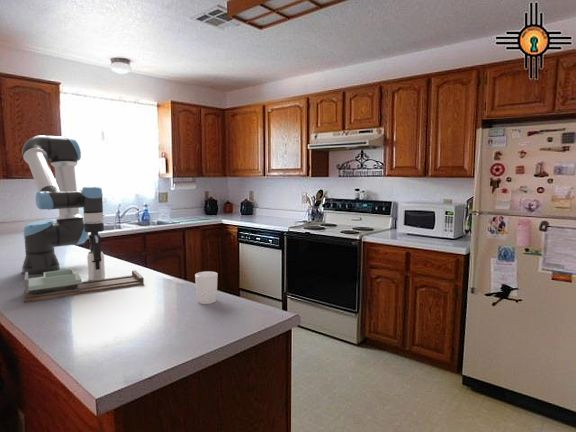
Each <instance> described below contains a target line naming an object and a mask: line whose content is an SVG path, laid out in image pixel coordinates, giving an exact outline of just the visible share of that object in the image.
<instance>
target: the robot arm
mask: <svg viewBox="0 0 576 432" xmlns="http://www.w3.org/2000/svg"><path fill="white" fill-rule="evenodd" d="M21 154H22V159H23V161H25V163H27V164H28V167H29V170H30V172H31V174H32V178H33V180H34V183H35V185H36V188H37V192H36V194H35V203H36V207H37V209H38V210H58V217H57V218H56V221H55V222H53V220H51V219H50V220H48V219H47V220H41V221H40V220H39V221H35V222H31V223H28V224H26V225H24V227H23V236H24V237H23V239H24V249H25V250H24V251H25V257H24V259H23V264H22V267H21V270H22V271H21V272H22V274H25V272H28V275H37V274H43V272H51V271H59V270H61V269H60V268H61V267H60V262H59V260H58V258H57V255H56V254H55V248H58V247H67V246H78V245H82V244H84V243H85V242H87V240H88V238H89V247H90V249H89V250H90V252H92V251H93V255H94V261H92V262H93V263H94V277H100V276H101V251H102V250H101V236H100V235H99V233H100V232H103V231H105V227H104V226H105V224H104V222H103V221H104V217H105V216H106V215H105V213H104V205H103V204H104V202H103V189H102V187H101V186H83V187H82V190H81V189H80V190H78V189H77V179H76V171H75V167H76V166H77V165H78V162H79V161H80V160H81V158H82V150H81V147H80V143H79V141H78V140H77V139H76V138H74V137H72V136H71V137H70V136H67V135H66V136H59V135H58V136H57V135H56V136H55V135H46V134H45V135H44V134H43V135H41V134H38V135H35V136H32V137H31V138H29V139H27V141H26V142H25V143H24V144H23V147H22V149H21ZM48 161H50V165H51V166H52V167H53V168H54V174H55V177H54V174H53V172H52V169H51V167H50V165H49V162H48ZM79 208H80V209H81V208H82V209H83V214H82V215H83V216H82V215H81V214H80V211H79ZM89 233H90V234H89ZM96 258H97V259H96Z"/></svg>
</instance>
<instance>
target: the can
mask: <svg viewBox="0 0 576 432" xmlns="http://www.w3.org/2000/svg"><path fill="white" fill-rule="evenodd" d="M86 259H87V271H88V272H87V274H88V275H87V276H88V281H92V280H100V279H106V272H105V271H106V270H105V269H106V268H105V255H104V252H103V251H102V250H101V276H100V277H94V263H93V262H92V261H94V255H93V251H92V252H91V251H88V254H87V258H86ZM96 259H97V258H96Z"/></svg>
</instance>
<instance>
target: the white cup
mask: <svg viewBox="0 0 576 432" xmlns="http://www.w3.org/2000/svg"><path fill="white" fill-rule="evenodd" d="M194 277H195V278H194V280H195V282H194V283H195V292H196V301H197V303H198V304H199V305H200V304H201V305H210V304H214V303H216V302H217V294H218V272H216V271H199V272H196V273H195V274H194Z"/></svg>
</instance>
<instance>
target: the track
mask: <svg viewBox="0 0 576 432" xmlns="http://www.w3.org/2000/svg"><path fill="white" fill-rule="evenodd" d="M144 284H145V280H144V277H143V276H142V275H141V274H140V273H139V272H138V271H137V270H135V269H134V270H131V274H130V275H125V276H117V277H116V276H115V277H107V278H104V279H100V280H92V281H90V280H88V281H87V280H86V281H82V284H78V287H77V288H75V289H72V288H71V286H70V285H67V286H60V287H53V288H45V289H41V292H40V293H39V294H34V293H33V290H31V291H29V293H25V292H24V295H23V303H30V302H36V301H37V302H38V301H43V300H44V301H45V300H50V299H56V298H63V297H69V296H76V295H77V296H78V295H85V294H91V293H97V292H104V291H111V290H117V289H125V288H131V287H137V286H138V287H139V286H143V285H144Z"/></svg>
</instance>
